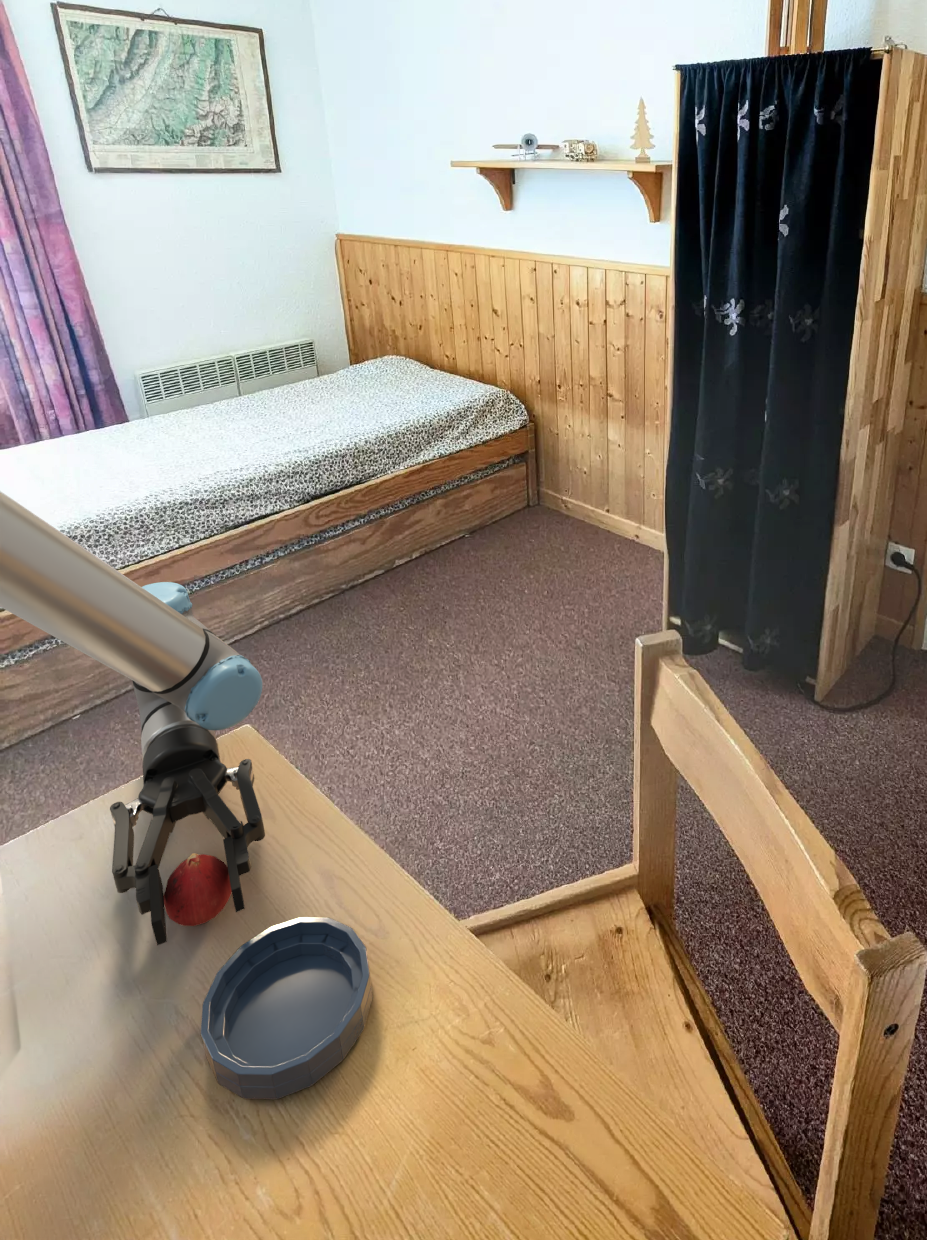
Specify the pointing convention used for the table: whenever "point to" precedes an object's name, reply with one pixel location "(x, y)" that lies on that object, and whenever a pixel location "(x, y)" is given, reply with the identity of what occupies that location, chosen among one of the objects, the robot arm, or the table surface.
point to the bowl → (286, 1007)
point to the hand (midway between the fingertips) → (199, 915)
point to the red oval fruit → (197, 890)
